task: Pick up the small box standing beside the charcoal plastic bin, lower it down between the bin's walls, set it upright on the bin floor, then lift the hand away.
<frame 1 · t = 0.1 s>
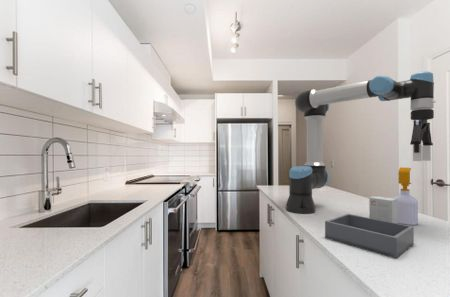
hand: (422, 160, 102), 28 cm above the worktop, tool pointing down, fingers open, 13 cm apart
charcoal bin: (368, 241, 86), on the worktop
soap bottle: (405, 222, 110), on the worktop
small box: (383, 230, 98), on the worktop
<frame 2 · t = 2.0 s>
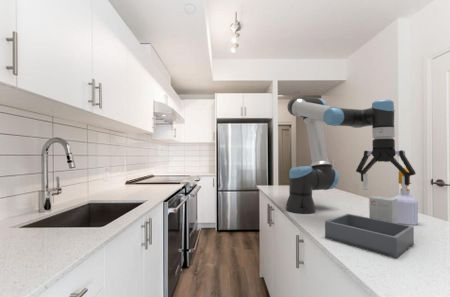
hand: (383, 191, 98), 16 cm above the worktop, tool pointing down, fingers open, 13 cm apart
nothing on the worktop moved.
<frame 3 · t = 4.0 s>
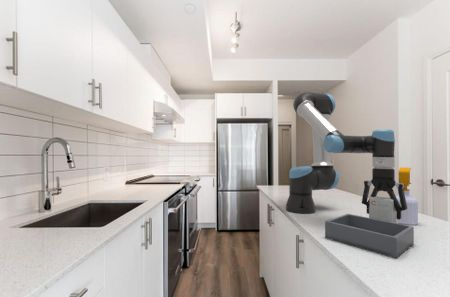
hand: (383, 224, 98), 2 cm above the worktop, tool pointing down, fingers closed on small box, 8 cm apart
small box: (383, 230, 98), on the worktop, touching gripper
everything else where it was.
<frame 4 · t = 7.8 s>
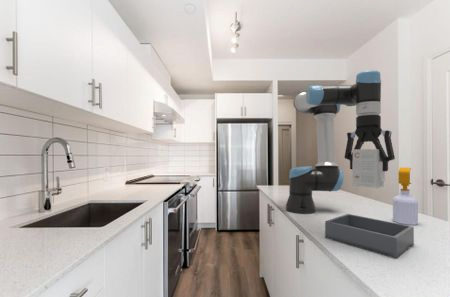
hand: (368, 179, 86), 22 cm above the worktop, tool pointing down, fingers closed on small box, 8 cm apart
small box: (368, 186, 86), point 19 cm above the worktop, touching gripper
everything else where it was.
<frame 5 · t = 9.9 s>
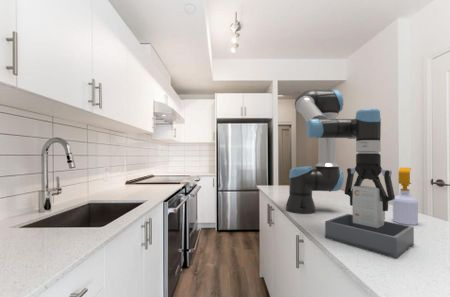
hand: (368, 217, 86), 8 cm above the worktop, tool pointing down, fingers closed on small box, 8 cm apart
small box: (368, 224, 86), point 6 cm above the worktop, touching gripper
everything else where it was.
when the fingers open (5 cm above the worktop, at t = 11.6 s): small box drops 1 cm, resting on charcoal bin.
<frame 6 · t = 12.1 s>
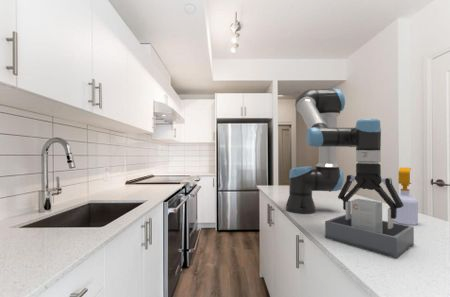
hand: (368, 223, 86), 6 cm above the worktop, tool pointing down, fingers open, 13 cm apart
small box: (366, 238, 86), point 1 cm above the worktop, touching charcoal bin
everything else where it was.
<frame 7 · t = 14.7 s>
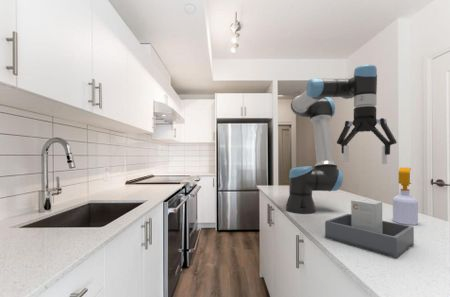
hand: (364, 162, 93), 27 cm above the worktop, tool pointing down, fingers open, 13 cm apart
nothing on the worktop moved.
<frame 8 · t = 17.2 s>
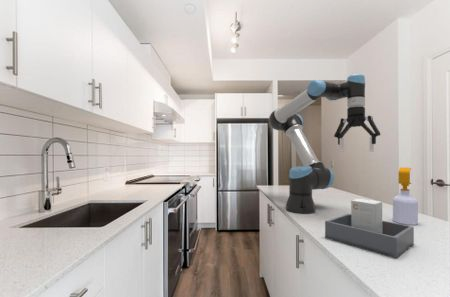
hand: (355, 151, 117), 32 cm above the worktop, tool pointing down, fingers open, 13 cm apart
nothing on the worktop moved.
at the end: small box inside the target area on the charcoal bin (0.4 cm from its centre), point 0.8 cm above the charcoal bin's base; small box tilted 0°; the gripper is holding nothing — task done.
